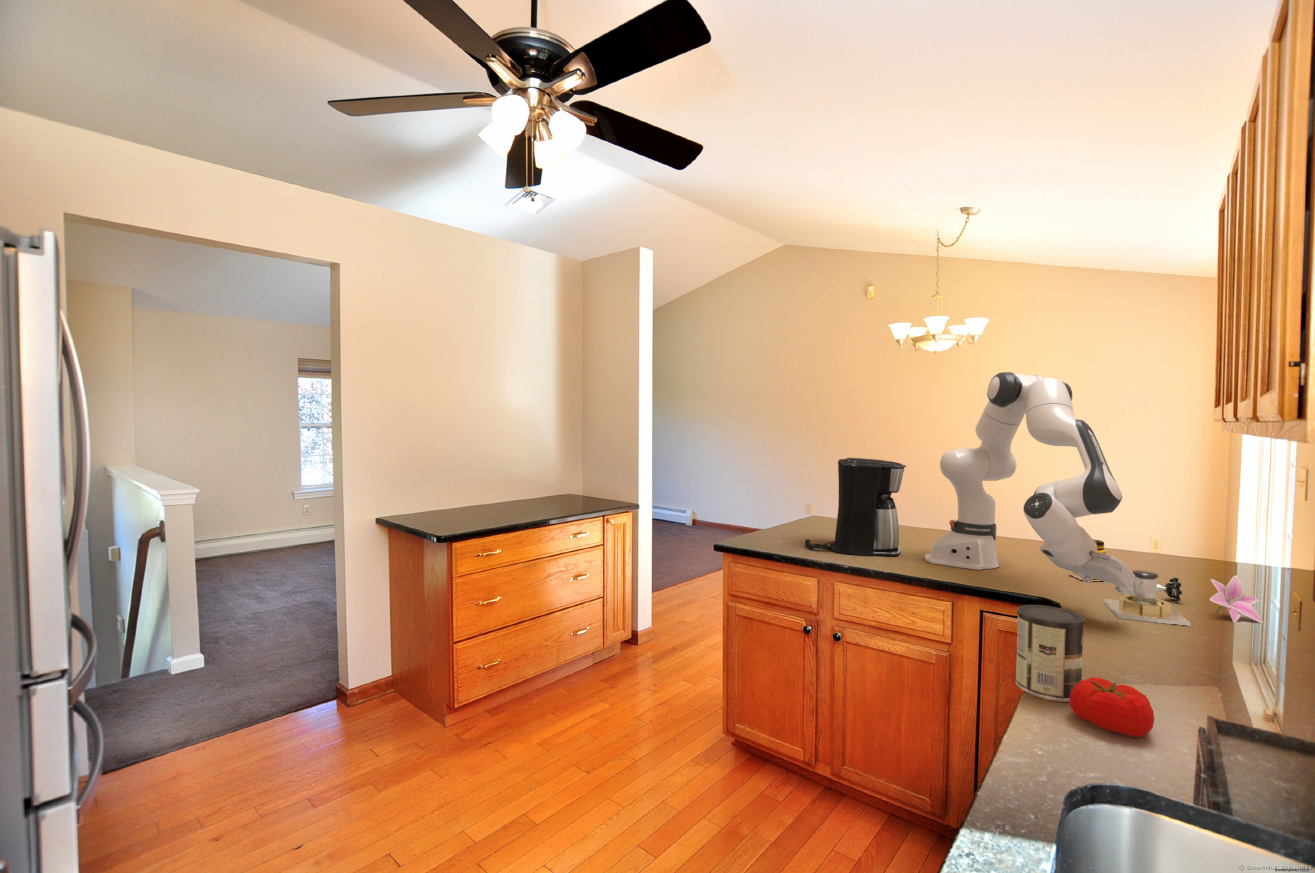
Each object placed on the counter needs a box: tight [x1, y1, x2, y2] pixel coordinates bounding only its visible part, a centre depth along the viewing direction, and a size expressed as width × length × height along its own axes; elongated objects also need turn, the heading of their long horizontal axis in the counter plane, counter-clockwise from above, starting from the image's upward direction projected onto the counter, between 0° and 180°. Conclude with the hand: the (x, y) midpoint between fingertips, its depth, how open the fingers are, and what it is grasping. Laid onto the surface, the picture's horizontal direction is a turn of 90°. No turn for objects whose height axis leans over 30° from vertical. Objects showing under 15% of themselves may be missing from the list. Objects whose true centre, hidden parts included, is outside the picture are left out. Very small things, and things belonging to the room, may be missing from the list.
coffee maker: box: [804, 457, 907, 557], centre depth 221 cm, size 23×32×34 cm
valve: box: [1123, 577, 1183, 603], centre depth 166 cm, size 7×7×12 cm
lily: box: [1209, 575, 1264, 624], centre depth 152 cm, size 12×12×10 cm
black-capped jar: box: [1131, 569, 1159, 605], centre depth 154 cm, size 5×5×9 cm
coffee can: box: [1015, 604, 1085, 703], centre depth 110 cm, size 10×10×14 cm
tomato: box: [1069, 676, 1155, 738], centre depth 97 cm, size 10×11×6 cm
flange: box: [1103, 594, 1191, 627], centre depth 154 cm, size 14×14×3 cm
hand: (1106, 585), depth 151 cm, fingers open, 8 cm apart
